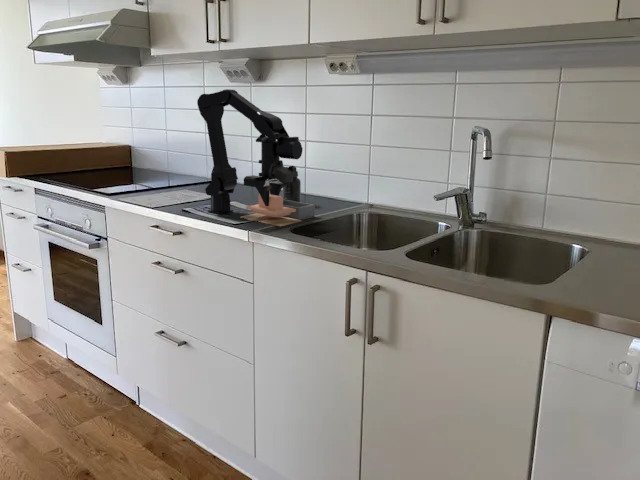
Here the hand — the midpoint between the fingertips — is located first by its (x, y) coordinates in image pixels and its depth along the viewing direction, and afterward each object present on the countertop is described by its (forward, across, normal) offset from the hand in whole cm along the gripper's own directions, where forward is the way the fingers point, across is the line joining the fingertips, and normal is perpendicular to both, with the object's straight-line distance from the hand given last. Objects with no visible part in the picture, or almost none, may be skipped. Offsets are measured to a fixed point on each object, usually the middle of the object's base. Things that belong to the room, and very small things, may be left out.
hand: (270, 205), depth 179 cm
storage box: (+5, +10, 0) cm, 11 cm away
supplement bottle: (+5, +27, +15) cm, 31 cm away
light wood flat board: (+5, 0, 0) cm, 5 cm away
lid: (+2, 0, 0) cm, 2 cm away
